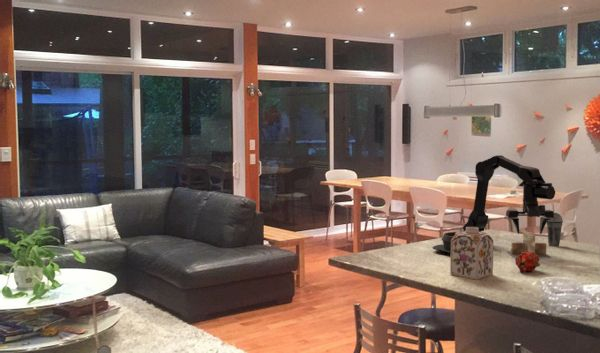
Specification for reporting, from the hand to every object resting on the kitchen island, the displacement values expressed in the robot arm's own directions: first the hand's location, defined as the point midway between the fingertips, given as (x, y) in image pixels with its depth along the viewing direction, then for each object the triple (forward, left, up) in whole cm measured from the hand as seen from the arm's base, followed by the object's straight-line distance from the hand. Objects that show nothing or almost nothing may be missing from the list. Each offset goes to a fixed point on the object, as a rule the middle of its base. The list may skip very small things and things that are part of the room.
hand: (529, 233), depth 267 cm
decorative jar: (-30, -38, -10) cm, 49 cm away
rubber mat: (0, 0, -10) cm, 10 cm away
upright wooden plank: (0, 0, -9) cm, 9 cm away
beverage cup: (+17, +23, -10) cm, 30 cm away
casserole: (-28, +3, -10) cm, 30 cm away
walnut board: (0, 0, -9) cm, 9 cm away
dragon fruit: (-8, -30, -10) cm, 32 cm away
